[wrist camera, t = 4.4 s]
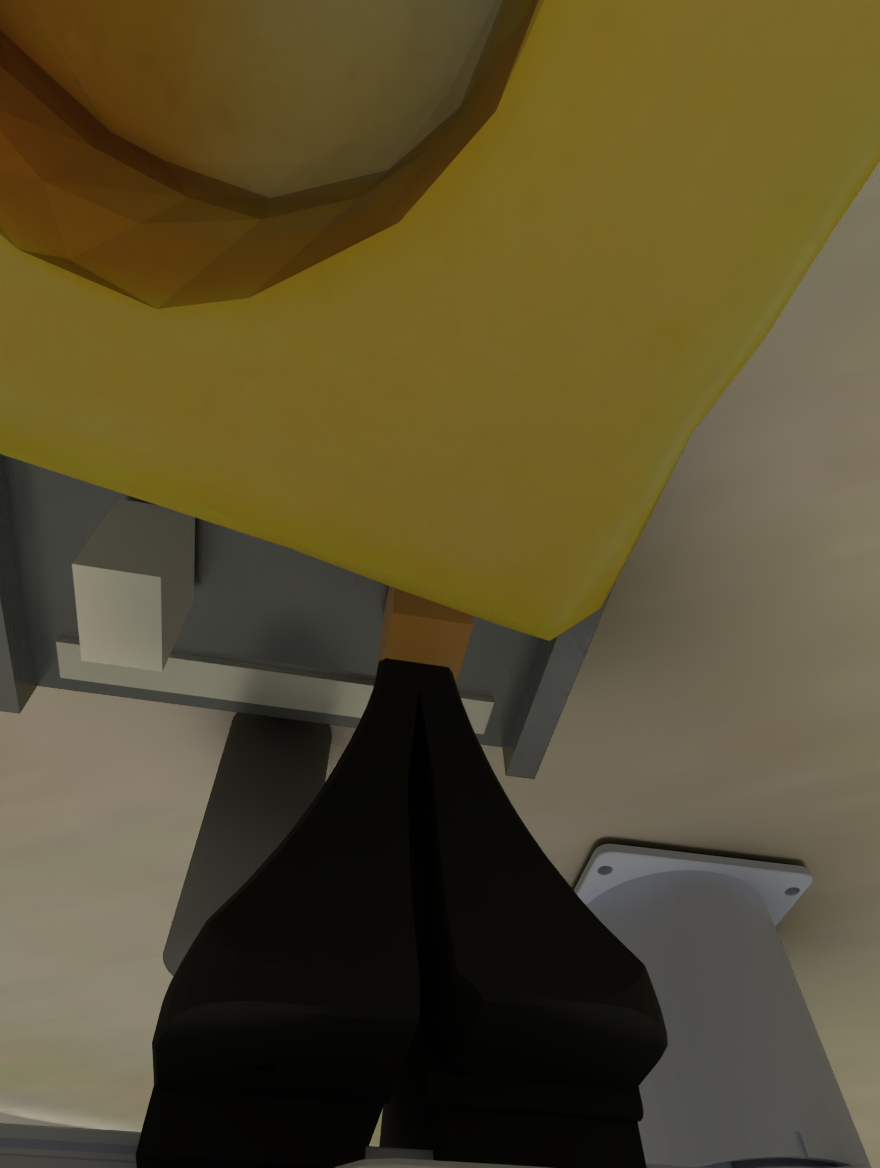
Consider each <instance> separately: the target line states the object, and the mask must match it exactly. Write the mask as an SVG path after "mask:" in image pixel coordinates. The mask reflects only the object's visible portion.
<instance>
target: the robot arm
mask: <svg viewBox="0 0 880 1168" xmlns="http://www.w3.org/2000/svg"><path fill="white" fill-rule="evenodd" d="M812 881H813V879H812V876H811V874H810V872H809V870H808V869H807V868H806V867H802V866H797V865H789V864H780V863H772V862H763V861H755V860H746V859H738V858H729V857H721V856H712V855H704V854H695V853H687V852H678V851H670V850H661V849H653V848H644V847H636V846H627V845H619V844H604V845H601V846H599V847H597V848H596V850H595V851H594V852H593V854H592V856H591V858H590V860H589V862H588V864H587V866H586V868H585V869H584V871H583V873H582V875H581V877H580V879H579V881H578V883H577V885H576V887H575V889H574V890H573V889H572V888H571V887H570V885H569V884H568V883H567V882H566V880H565V879H564V878H563V877H562V875H561V874H560V873H559V872H558V870H557V869H556V868H555V867H554V865H553V864H552V863H551V862H550V860H549V859H548V858H547V856H546V855H545V854H544V852H543V851H542V849H541V848H540V847H539V845H538V844H537V842H536V841H535V840H534V838H533V837H532V835H531V834H530V832H529V831H528V829H527V828H526V826H525V825H524V823H523V822H522V820H521V818H520V817H519V815H518V814H517V812H516V811H515V809H514V807H513V806H512V804H511V802H510V801H509V799H508V797H507V795H506V794H505V792H504V790H503V788H502V786H501V785H500V783H499V781H498V779H497V777H496V775H495V774H494V772H493V770H492V768H491V766H490V764H489V762H488V760H487V758H486V756H485V754H484V751H483V749H482V747H481V745H480V743H479V741H478V739H477V736H476V734H475V732H474V730H473V727H472V725H471V723H470V720H469V718H468V715H467V713H466V710H465V708H464V705H463V702H462V700H461V697H460V694H459V691H458V688H457V685H456V682H455V679H454V676H453V672H452V671H451V670H450V668H449V667H444V666H437V665H430V664H423V663H416V662H409V661H402V660H395V659H388V658H385V659H383V660H381V661H379V663H378V668H377V673H376V678H375V683H374V688H373V691H372V693H371V696H370V699H369V701H368V704H367V706H366V709H365V711H364V713H363V715H362V717H361V719H360V722H359V724H358V726H357V728H356V730H355V732H354V734H353V736H352V738H351V740H350V742H349V744H348V745H347V747H346V749H345V751H344V752H343V754H342V756H341V758H340V759H339V761H338V763H337V765H336V766H335V768H334V770H333V771H332V773H331V775H330V776H329V778H328V779H327V781H326V782H325V784H324V785H323V787H322V788H321V790H320V791H319V793H318V794H317V796H316V797H315V799H314V800H313V802H312V803H311V804H310V806H309V807H308V809H307V810H306V811H305V812H304V814H303V815H302V816H301V818H300V819H299V820H298V822H297V823H296V824H295V826H294V827H293V828H292V830H291V831H290V832H289V833H288V835H287V836H286V837H285V838H284V840H283V841H282V842H281V843H280V844H279V846H278V847H277V848H276V849H275V850H274V851H273V852H272V854H271V855H270V856H269V857H268V858H267V859H266V860H265V861H264V862H263V864H262V865H261V866H260V867H259V868H258V869H257V870H256V871H255V873H254V874H253V875H252V876H251V877H250V878H249V879H248V880H247V881H246V882H245V883H244V884H243V885H242V886H241V887H240V888H239V889H238V890H237V891H236V892H235V893H234V894H233V895H232V896H231V897H230V898H229V899H228V900H227V901H226V902H225V903H224V904H223V905H222V906H221V907H220V908H219V909H218V910H217V911H216V912H215V913H214V914H213V915H212V916H211V917H210V918H209V919H208V920H207V921H206V922H205V924H204V926H203V927H202V929H201V931H200V932H199V934H198V935H197V937H196V939H195V940H194V942H193V943H192V945H191V946H190V948H189V950H188V952H187V953H186V955H185V957H184V958H183V960H182V962H181V964H180V965H179V967H178V969H177V971H176V973H175V975H174V977H173V979H172V981H171V983H170V985H169V988H168V990H167V992H166V995H165V997H164V1000H163V1003H162V1007H161V1011H160V1014H159V1018H158V1022H157V1026H156V1030H155V1034H154V1038H153V1042H152V1049H153V1070H154V1087H153V1091H152V1095H151V1098H150V1102H149V1106H148V1110H147V1113H146V1117H145V1121H144V1124H143V1128H142V1132H132V1131H116V1130H100V1129H84V1128H68V1127H51V1126H35V1125H20V1124H4V1123H0V1168H871V1165H870V1163H869V1160H868V1158H867V1155H866V1153H865V1150H864V1148H863V1145H862V1143H861V1140H860V1138H859V1135H858V1133H857V1130H856V1128H855V1125H854V1123H853V1120H852V1118H851V1115H850V1113H849V1110H848V1108H847V1105H846V1103H845V1100H844V1098H843V1095H842V1093H841V1090H840V1088H839V1085H838V1083H837V1080H836V1078H835V1075H834V1073H833V1070H832V1068H831V1065H830V1063H829V1060H828V1058H827V1055H826V1053H825V1050H824V1048H823V1045H822V1043H821V1040H820V1038H819V1035H818V1033H817V1030H816V1028H815V1025H814V1023H813V1020H812V1018H811V1015H810V1013H809V1010H808V1008H807V1005H806V1003H805V1000H804V998H803V995H802V993H801V990H800V988H799V985H798V983H797V980H796V978H795V975H794V973H793V970H792V968H791V965H790V963H789V960H788V958H787V955H786V953H785V950H784V948H783V945H782V943H781V940H780V938H779V935H778V933H777V930H776V928H775V927H776V926H777V925H778V923H779V922H780V921H781V920H782V919H783V917H784V916H785V915H786V914H787V913H788V911H789V910H790V909H791V908H792V907H793V905H794V904H795V903H796V902H797V900H798V899H799V898H800V897H801V896H802V894H803V893H804V892H805V891H806V890H807V888H808V887H809V886H810V885H811V883H812ZM382 1109H383V1113H382V1124H381V1135H380V1146H379V1147H372V1146H369V1143H370V1141H371V1138H372V1135H373V1133H374V1130H375V1127H376V1125H377V1122H378V1119H379V1117H380V1114H381V1111H382Z"/></svg>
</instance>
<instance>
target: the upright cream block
mask: <svg viewBox="0 0 880 1168" xmlns="http://www.w3.org/2000/svg"><path fill="white" fill-rule="evenodd" d="M194 563H195V517H193V516H189V515H186V514H183V513H180V512H177V511H174V510H171V509H168V508H165V507H162V506H159V505H153V504H147V503H141V502H135V501H129V500H123V499H118V500H117V501H116V503H115V504H114V506H113V507H112V508H111V510H110V511H109V513H108V514H107V515H106V517H105V518H104V520H103V521H102V522H101V524H100V525H99V527H98V528H97V529H96V531H95V532H94V534H93V535H92V536H91V538H90V539H89V541H88V542H87V543H86V545H85V546H84V548H83V549H82V550H81V552H80V553H79V555H78V556H77V557H76V559H75V560H74V562H73V563H72V570H73V580H74V590H75V601H76V611H77V621H78V631H79V641H80V651H81V661H87V662H94V663H102V664H109V665H116V666H124V667H131V668H138V669H146V670H153V671H160V672H163V669H164V667H165V665H166V662H167V660H168V658H169V656H170V653H171V651H172V649H173V646H174V644H175V642H176V640H177V637H178V635H179V633H180V631H181V628H182V626H183V624H184V621H185V619H186V617H187V615H188V612H189V610H190V608H191V605H192V603H193V601H194Z"/></svg>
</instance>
